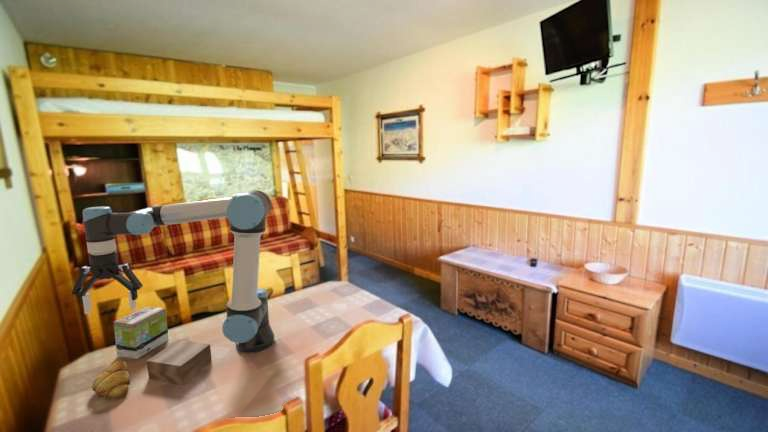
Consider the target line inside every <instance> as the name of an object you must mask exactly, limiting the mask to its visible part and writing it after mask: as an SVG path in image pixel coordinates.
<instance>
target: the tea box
mask: <svg viewBox="0 0 768 432" xmlns="http://www.w3.org/2000/svg"><path fill="white" fill-rule="evenodd" d="M167 318H168V317H167V308H164V307H157V306H149V305H146V306H143V307H142V308H140V309H138V310H135V311H134V312H132V313H129V314H128V315H125V316H123V317H121V318H118V319H117V320H115V321H113V330H114V332H113V333H114V339H115V340H114V341H115V348H116V349H115V351H116V355H117V357H120V358H125V359H133V360H139V359H140V358H141V357H143V356H145V355H146V354H147V353H149V352H151V351H153V350H154V349H156V348H158V347H159V346H161V345H162V344H164V343H166V342H168V341H169V329H168V328H169V327H168V319H167Z"/></svg>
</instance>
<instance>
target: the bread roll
mask: <svg viewBox="0 0 768 432" xmlns="http://www.w3.org/2000/svg"><path fill="white" fill-rule="evenodd" d="M130 383H131V378H130V374H129V371H128V364H127V362H126V361H124V360H117V361H115V362H113V363H112V364H111V365H110V366H109V368H107V370H106V371H105V372H102V373H101V374H99V375H98V376H97V377H95V378H94V379H93V382H92V385H91V386H92V388H91V389H92V391H93V392H95V394H96V396H97V397H98V398H100V399H107V398H109V399H119V398H122V397H123V396H125V395H126V393H127V392H128V390H129V388H130V387H129V385H130Z"/></svg>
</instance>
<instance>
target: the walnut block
mask: <svg viewBox="0 0 768 432" xmlns="http://www.w3.org/2000/svg"><path fill="white" fill-rule="evenodd" d="M211 362H212V350H211V344H210V343H205V342H197V341H196V342H195V341H188V340H182V339H177V340H176V341H174V342H173V343H172V344H170V345H169V346H167V347H165V348H164V349H163V350H161V351H160V352H158V353H157V354H155V355H154V356H151V357H150V358H149V359H147V360H146V365H147V367H146V368H147V374H148V380H153V381H159V382H164V383H170V384H177V385H182V386H183V385H185V384H186V383H187V382H189V380H191V379H192V378H193V377H195V375H197V374H198V373H199V372H201V371H202V370H203V369H204V368H205V367H206V366H208V365H209V364H210V363H211Z"/></svg>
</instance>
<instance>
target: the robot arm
mask: <svg viewBox="0 0 768 432" xmlns="http://www.w3.org/2000/svg"><path fill="white" fill-rule="evenodd" d="M271 210H272V202H271V199H270V198H269V196H268V194H266V193H265V192H264V191H262V190H259V189H251V190H247V191H245V192H240V193H233V195H232V196H231V197H222V198H216V199H215V198H214V199H206V200H199V201H198V200H197V201H188V202H180V203H172V204H165V205H152V206H151V205H150V206H148V207H144V208H141V209H137V210H134V211H130V212H113V211H112V208H111V207H110V206H91V207H86V208H84V209H83V210H82V224H83V228H84V233H85V240H86V247H87V254H88V260H89V265H90V266H88V265H84V266H82V267H80V268H79V275H78V277H77V279H76V282H75V284H74V286H73V289H72V291H71V295H73V296H74V295H76V296H78V297H79V302H80V305H82V306H83V308H84V309H83V310H84V315H88V314H90V313H92V311H93V308H92V302H91V300H92V299H91V294H90V292H89V290H90V289H91V287H93V285H94V284H95V283H96V281H97V280H98V279H99V280H104V279H105V280H106V279H107V280H109V279H112V280H115V281H117V282H118V283H119V284H120V285H122V286H123V287H124V288H126V289H127V290H128V292H127V296H128V302H129V304H128V305H129V311H133V310H135V309H136V308H137V302H136V300H137V299H138V297H139V296H138V291H139V290H141V288H143V287H144V286H143V284H142V282H141V281H140V280H139V278H138V277H137V276H136V274H135V273H134V272H133V270H132V269H131V265H130V263H128V262H126V263H124V264H120V263H119V258H118V252H117V243H116V236H119V235H120V236H131V235H132V236H133V235H136V236H140V235H147V234H149V233H151V232H152V230H153V229H154V228H155V227H162V226H168V225H177V224H184V223H185V224H186V223H193V222H200V221H202V222H203V221H211V220H217V219H224V218H225V219H226V218H227V220H228V222H229V225H230V226H229V231H230V232H231V233H232V234H233V236H234V238H233V240H234V241H233V242H234V243H233V259H232V260H233V266H232V285H231V286H232V288H231V299H229V300H228V301H227V304H226V317H225V319H224V321H223V324H222V327H221V329H222V334H223V335H224V337H225V338H226V339H228V340H229V341H230V342H232V343H235V348H236V350H237V351H239V352H240V353H245V354H253V353H258V352H259V353H260V352H262V351H265V350H266V349H268V348H270V347H271V346H272V345H274V343H275V332H274V331H273V329H272V327H271V324H270V316H269V314H270V313H269V299H268V298H269V296H268V292H267V290H266V289H263V288H258V287H259V268H260V267H259V266H260V249H261V236H262V235H263V234H264V233H265V232H266V225H267V224H266V223H267V217H268V215H269V214H270V212H271ZM119 270H121V272H120V271H119ZM122 272H123V274H124V275H123V274H122ZM88 273H91V274H92V276H91V277H90V278H89V280H88V281H87V283H86V284H85V285H84V283H85V281H86V278H87V277H88ZM125 276H126V277H125Z"/></svg>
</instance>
